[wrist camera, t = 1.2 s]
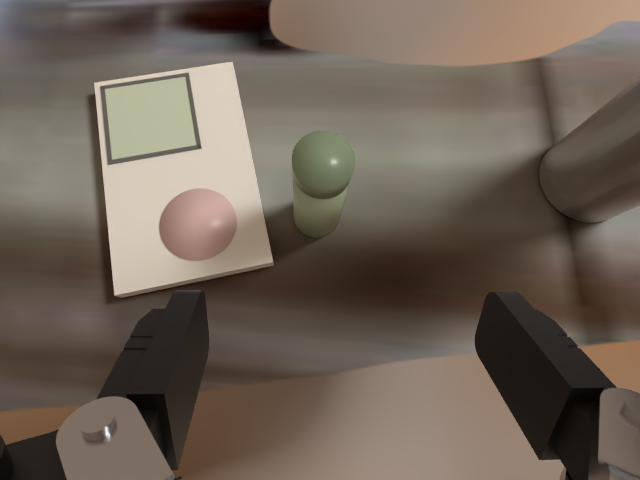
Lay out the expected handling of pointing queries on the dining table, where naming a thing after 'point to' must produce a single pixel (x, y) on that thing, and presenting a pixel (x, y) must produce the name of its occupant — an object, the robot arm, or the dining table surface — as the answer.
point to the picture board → (178, 180)
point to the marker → (320, 181)
